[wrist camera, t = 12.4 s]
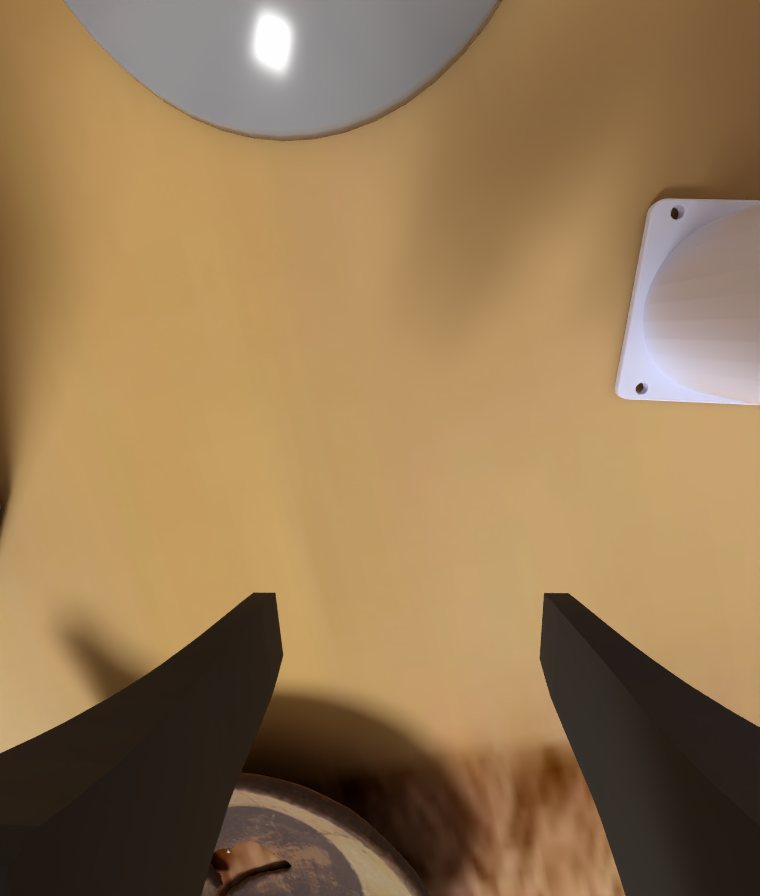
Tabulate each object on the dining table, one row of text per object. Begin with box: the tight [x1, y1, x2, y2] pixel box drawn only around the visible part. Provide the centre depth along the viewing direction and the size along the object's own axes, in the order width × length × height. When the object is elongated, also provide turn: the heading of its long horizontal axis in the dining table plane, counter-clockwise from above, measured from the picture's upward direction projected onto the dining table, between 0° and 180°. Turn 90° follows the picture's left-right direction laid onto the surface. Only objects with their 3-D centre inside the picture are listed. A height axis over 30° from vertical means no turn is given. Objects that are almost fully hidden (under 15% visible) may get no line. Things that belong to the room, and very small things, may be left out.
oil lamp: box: [201, 773, 429, 896], centre depth 25 cm, size 22×30×8 cm
